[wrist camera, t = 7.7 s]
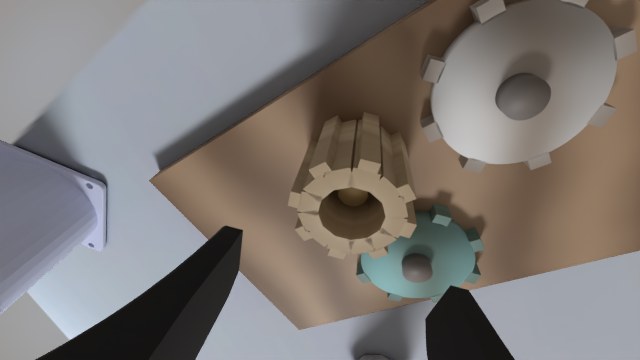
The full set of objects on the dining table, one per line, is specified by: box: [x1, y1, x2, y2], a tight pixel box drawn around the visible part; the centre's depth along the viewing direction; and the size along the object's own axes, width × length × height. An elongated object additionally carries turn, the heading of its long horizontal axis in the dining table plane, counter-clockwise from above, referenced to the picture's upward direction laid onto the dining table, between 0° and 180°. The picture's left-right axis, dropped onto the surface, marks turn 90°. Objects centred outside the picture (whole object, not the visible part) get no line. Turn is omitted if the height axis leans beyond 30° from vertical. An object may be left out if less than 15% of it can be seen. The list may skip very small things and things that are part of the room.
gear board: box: [149, 0, 640, 330], centre depth 18 cm, size 26×18×5 cm
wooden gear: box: [288, 112, 417, 260], centre depth 15 cm, size 6×6×5 cm
